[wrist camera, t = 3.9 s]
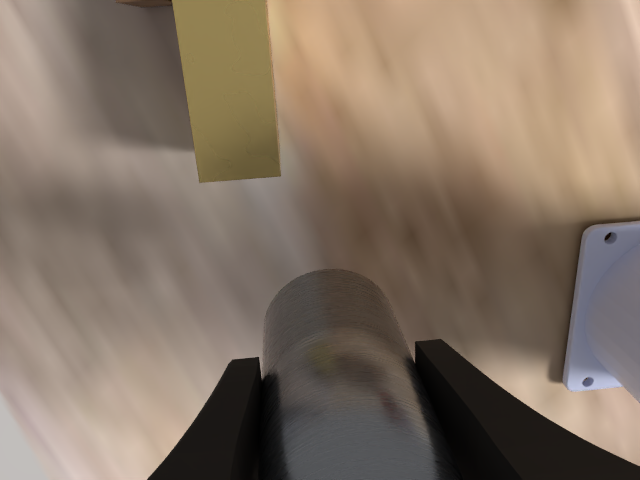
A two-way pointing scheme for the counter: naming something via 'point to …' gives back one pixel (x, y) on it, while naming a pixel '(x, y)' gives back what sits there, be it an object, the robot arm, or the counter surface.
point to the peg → (344, 389)
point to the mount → (146, 2)
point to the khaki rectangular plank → (229, 87)
